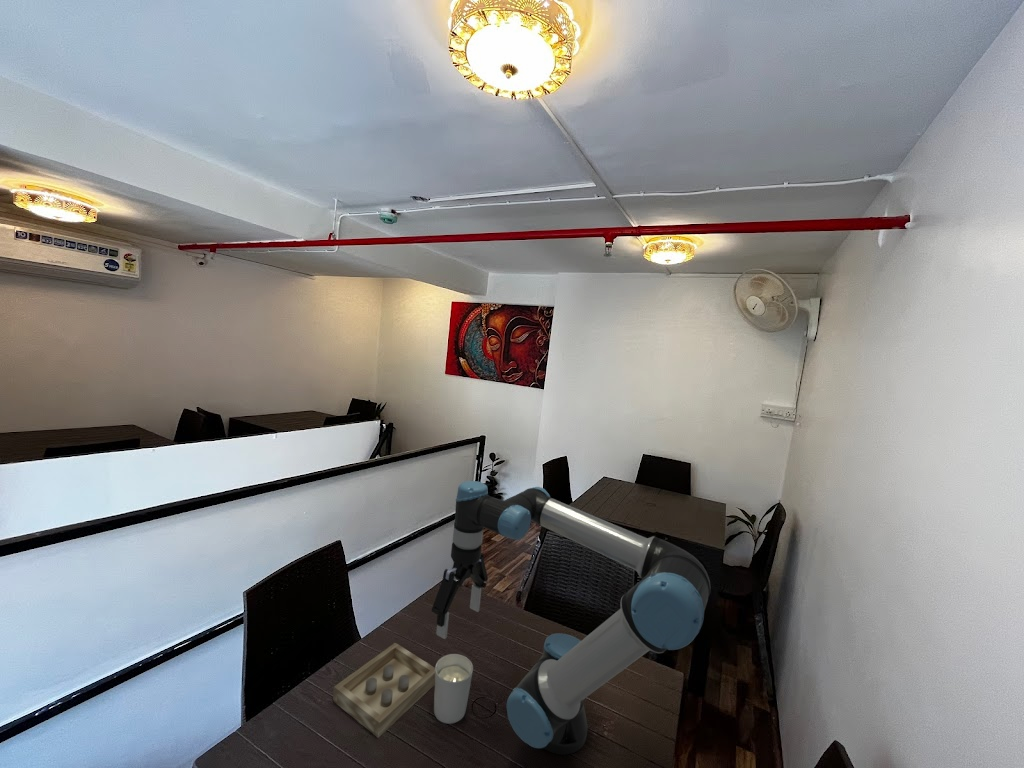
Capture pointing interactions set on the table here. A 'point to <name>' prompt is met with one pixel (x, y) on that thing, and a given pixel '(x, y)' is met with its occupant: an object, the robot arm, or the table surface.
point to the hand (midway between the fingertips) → (458, 622)
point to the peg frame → (384, 688)
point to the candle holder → (452, 687)
